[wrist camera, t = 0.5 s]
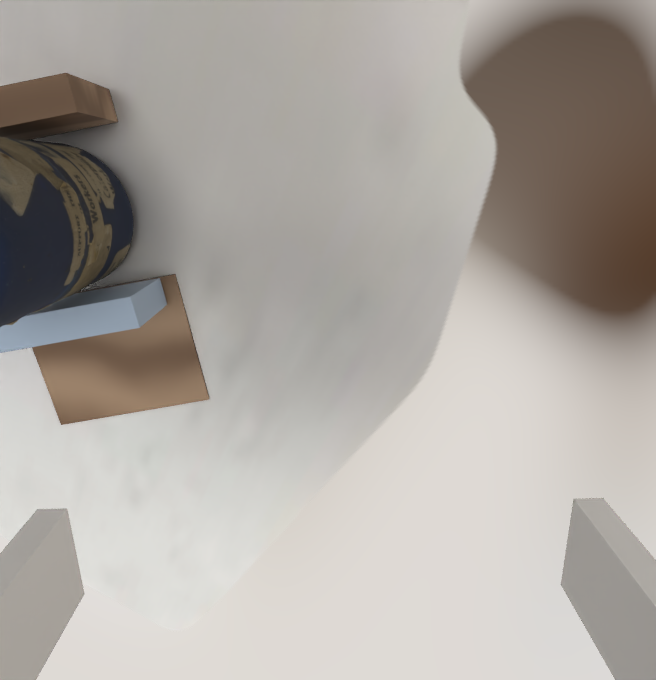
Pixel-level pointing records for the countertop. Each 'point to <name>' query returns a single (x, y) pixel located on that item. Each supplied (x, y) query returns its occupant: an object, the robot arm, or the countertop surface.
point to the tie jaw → (86, 315)
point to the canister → (56, 224)
